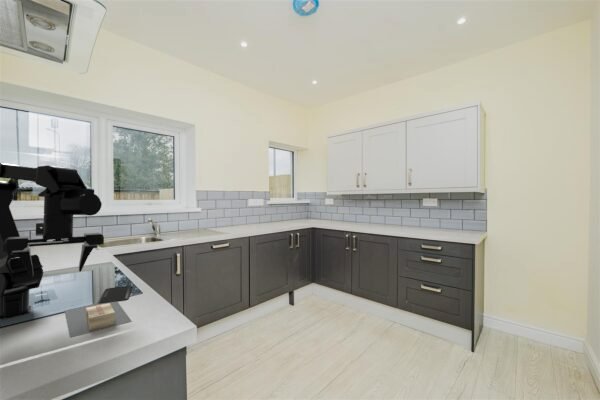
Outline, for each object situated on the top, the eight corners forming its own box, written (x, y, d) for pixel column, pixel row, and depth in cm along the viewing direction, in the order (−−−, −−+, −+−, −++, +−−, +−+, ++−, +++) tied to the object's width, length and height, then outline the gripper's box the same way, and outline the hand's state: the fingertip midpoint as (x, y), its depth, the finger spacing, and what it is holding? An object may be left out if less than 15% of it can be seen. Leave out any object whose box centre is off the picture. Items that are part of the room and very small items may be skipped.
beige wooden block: (114, 324, 65) (114, 311, 65) (89, 330, 62) (89, 317, 62) (109, 314, 71) (109, 302, 71) (85, 319, 68) (85, 307, 68)
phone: (132, 285, 95) (128, 298, 82) (132, 288, 95) (128, 302, 82) (105, 288, 91) (96, 303, 78) (105, 291, 91) (96, 306, 78)
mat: (64, 312, 73) (64, 310, 73) (116, 301, 81) (116, 299, 81) (69, 339, 59) (69, 337, 59) (131, 323, 67) (131, 321, 67)
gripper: (98, 212, 81) (97, 263, 80) (8, 213, 68) (6, 274, 67) (104, 214, 73) (103, 270, 73) (4, 215, 60) (1, 284, 59)
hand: (57, 274), depth 68 cm, fingers open, 9 cm apart
